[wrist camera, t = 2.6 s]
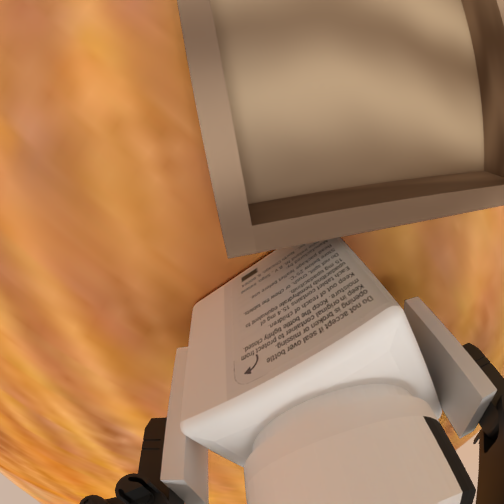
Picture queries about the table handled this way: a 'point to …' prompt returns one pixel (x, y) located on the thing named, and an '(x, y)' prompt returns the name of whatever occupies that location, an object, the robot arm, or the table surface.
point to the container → (317, 386)
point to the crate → (346, 113)
